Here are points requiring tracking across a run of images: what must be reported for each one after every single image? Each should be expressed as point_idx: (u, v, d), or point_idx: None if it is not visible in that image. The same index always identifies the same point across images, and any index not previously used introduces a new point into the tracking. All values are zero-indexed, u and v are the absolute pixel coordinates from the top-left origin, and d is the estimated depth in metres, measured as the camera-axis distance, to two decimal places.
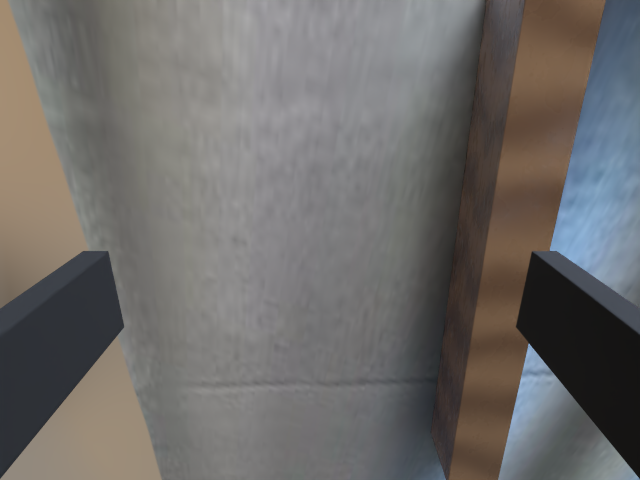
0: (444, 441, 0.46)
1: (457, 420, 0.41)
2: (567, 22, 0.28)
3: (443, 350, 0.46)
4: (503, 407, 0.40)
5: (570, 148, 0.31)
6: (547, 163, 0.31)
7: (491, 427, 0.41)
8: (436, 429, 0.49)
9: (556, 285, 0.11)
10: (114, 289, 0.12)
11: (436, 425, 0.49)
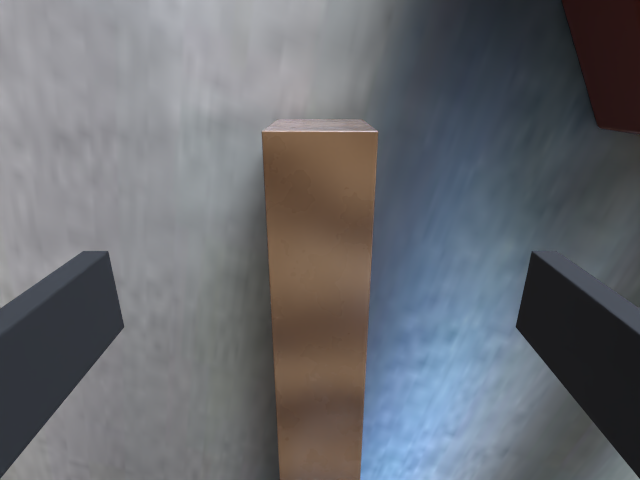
0: None
1: None
2: (328, 215, 0.20)
3: None
4: None
5: (363, 354, 0.23)
6: (336, 370, 0.24)
7: None
8: None
9: (556, 285, 0.11)
10: (115, 289, 0.12)
11: None
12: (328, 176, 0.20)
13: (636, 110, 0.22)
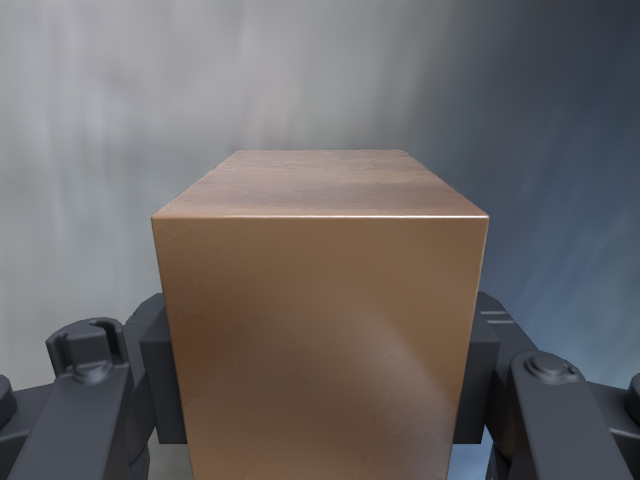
0: None
1: None
2: (342, 415, 0.08)
3: None
4: None
5: None
6: None
7: None
8: None
9: None
10: None
11: None
12: (343, 330, 0.07)
13: None
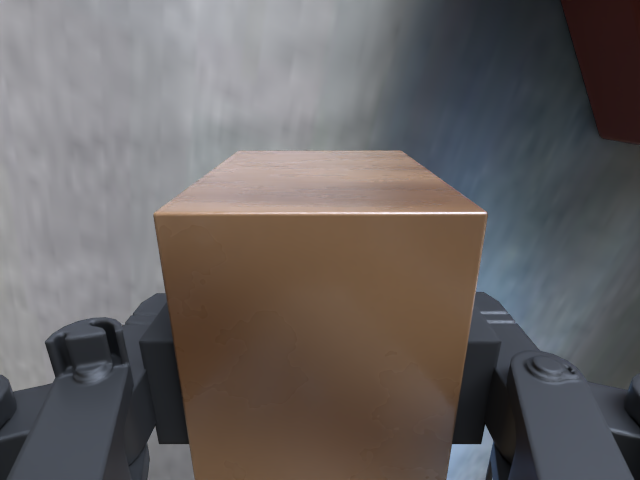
0: None
1: None
2: (343, 411, 0.08)
3: None
4: None
5: None
6: None
7: None
8: None
9: None
10: None
11: None
12: (343, 326, 0.07)
13: (637, 122, 0.22)
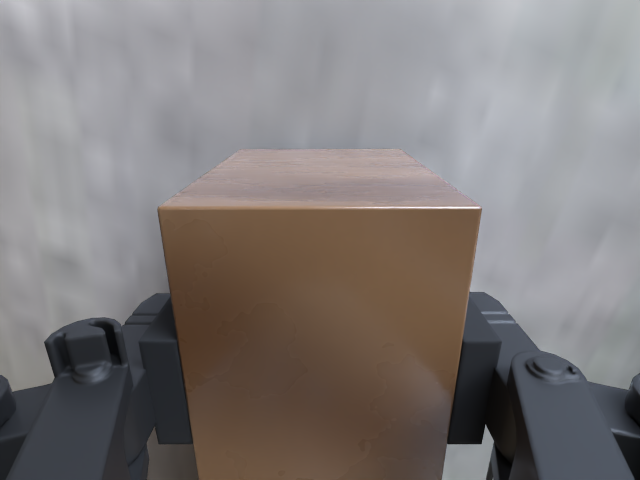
0: None
1: None
2: (341, 402, 0.08)
3: None
4: None
5: None
6: None
7: None
8: None
9: None
10: None
11: None
12: (342, 318, 0.07)
13: None
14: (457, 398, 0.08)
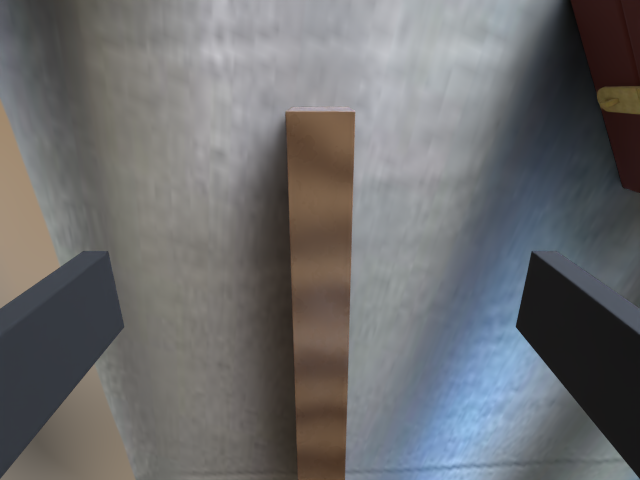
0: None
1: None
2: (325, 163, 0.33)
3: None
4: (335, 464, 0.46)
5: (349, 258, 0.36)
6: (331, 270, 0.37)
7: None
8: None
9: (556, 285, 0.11)
10: (114, 289, 0.12)
11: None
12: (325, 139, 0.32)
13: None
14: None
